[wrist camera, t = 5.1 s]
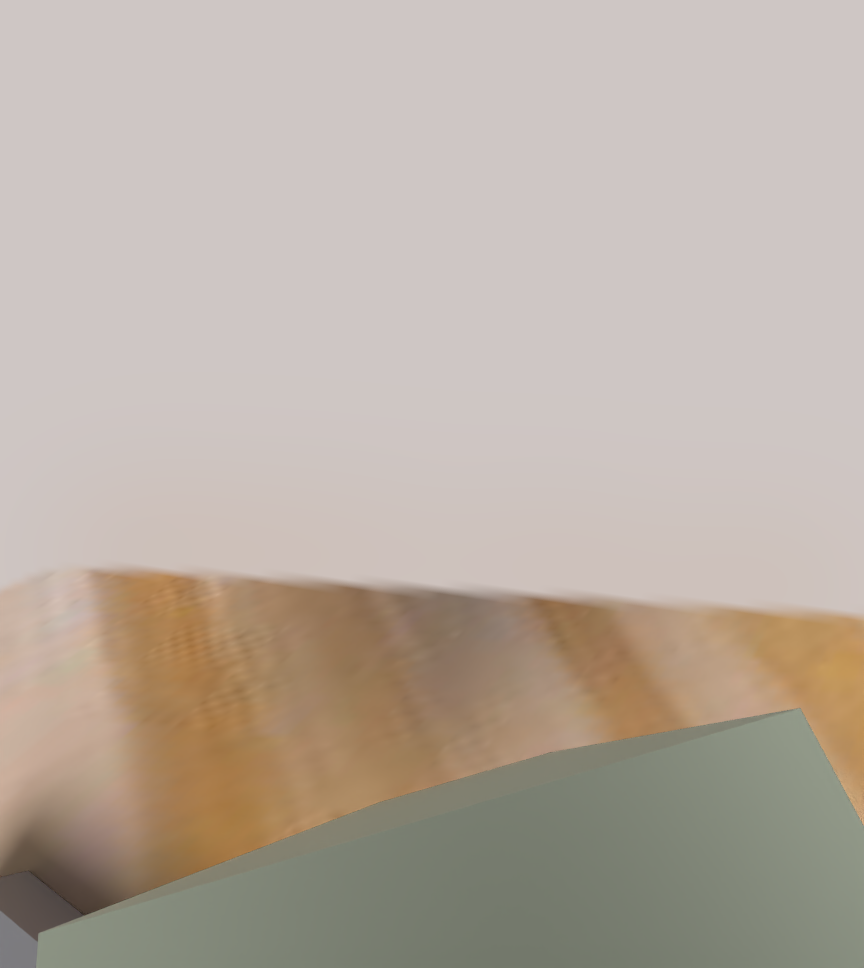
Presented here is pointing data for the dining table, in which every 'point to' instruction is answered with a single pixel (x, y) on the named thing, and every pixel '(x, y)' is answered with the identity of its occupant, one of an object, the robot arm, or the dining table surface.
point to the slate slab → (28, 917)
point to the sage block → (536, 871)
